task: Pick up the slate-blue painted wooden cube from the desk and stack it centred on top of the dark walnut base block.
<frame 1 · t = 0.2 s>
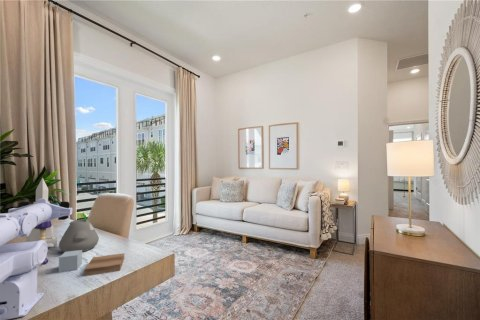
hand: (54, 206, 72), 21 cm above the table, tool horizontal, fingers open, 7 cm apart
toy: (79, 249, 91), on the table
slate cube: (70, 268, 74), on the table
toy lamp: (41, 263, 77), on the table
walnut base: (106, 268, 75), on the table
sculpture: (40, 249, 91), on the table
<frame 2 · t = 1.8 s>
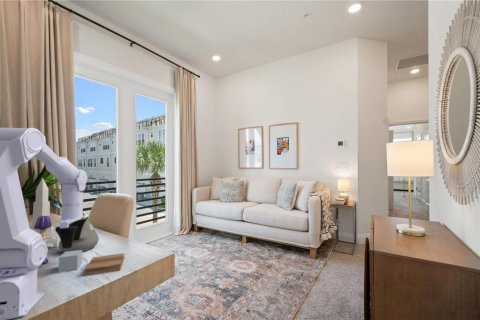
hand: (71, 243, 74), 8 cm above the table, tool pointing down, fingers open, 7 cm apart
nothing on the table moved.
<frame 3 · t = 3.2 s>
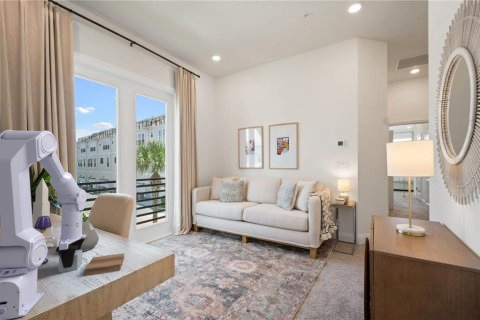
hand: (70, 263, 74), 1 cm above the table, tool pointing down, fingers closed on slate cube, 5 cm apart
slate cube: (70, 268, 74), on the table, touching gripper
everything else where it was.
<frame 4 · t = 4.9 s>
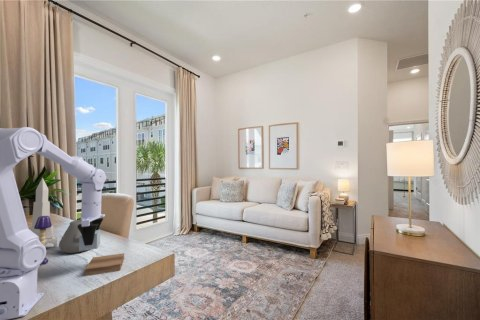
hand: (90, 242, 75), 8 cm above the table, tool pointing down, fingers closed on slate cube, 5 cm apart
slate cube: (90, 247, 75), point 7 cm above the table, touching gripper
everything else where it was.
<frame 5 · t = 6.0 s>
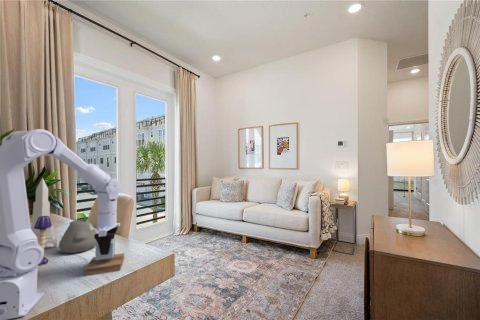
hand: (106, 251, 75), 5 cm above the table, tool pointing down, fingers closed on slate cube, 5 cm apart
slate cube: (105, 256, 75), point 4 cm above the table, touching gripper
everything else where it was.
when the fingers open (5 cm above the table, at t = 6.7 s): slate cube drops 2 cm, resting on walnut base.
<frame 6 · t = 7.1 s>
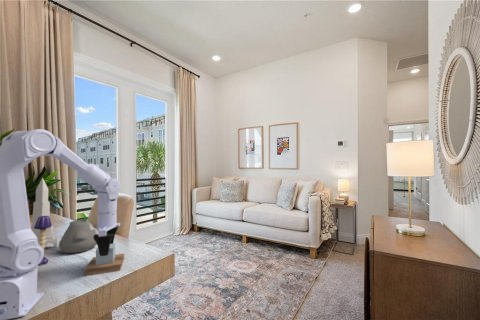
hand: (106, 251, 75), 5 cm above the table, tool pointing down, fingers open, 7 cm apart
slate cube: (105, 261, 75), point 2 cm above the table, touching walnut base
walnut base: (106, 268, 75), on the table, touching slate cube
everything else where it was.
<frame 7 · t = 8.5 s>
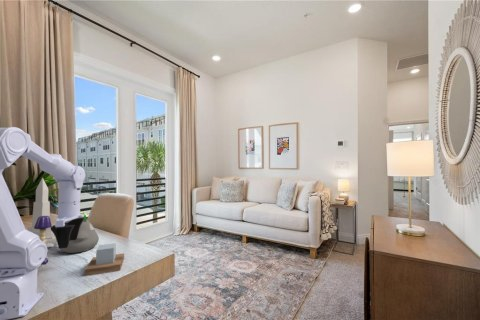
hand: (68, 243, 71), 9 cm above the table, tool pointing down, fingers open, 7 cm apart
nothing on the table moved.
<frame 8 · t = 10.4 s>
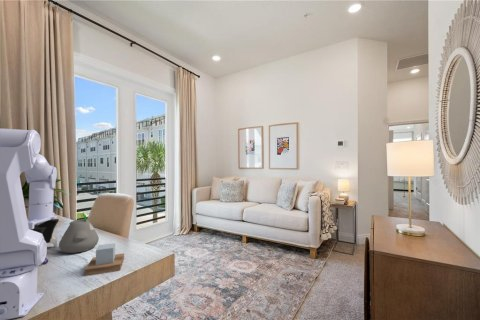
hand: (39, 246, 68), 9 cm above the table, tool pointing down, fingers open, 7 cm apart
slate cube: (105, 261, 75), point 2 cm above the table
walnut base: (106, 268, 75), on the table
everything else where it was.
at the end: slate cube 0.2 cm off-centre on the walnut base, point 2.5 cm above the walnut base's base; slate cube tilted 0°; slate cube touching walnut base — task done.
